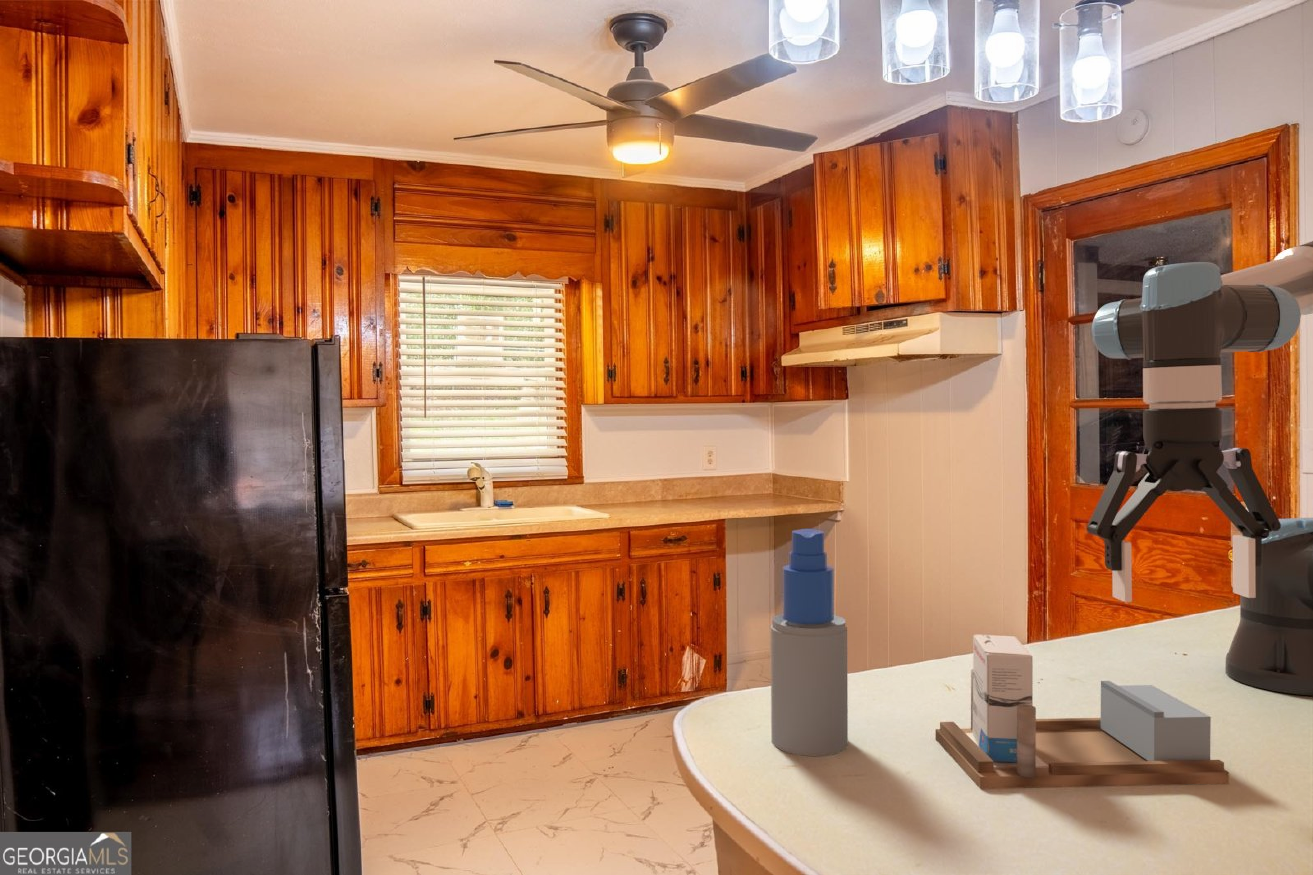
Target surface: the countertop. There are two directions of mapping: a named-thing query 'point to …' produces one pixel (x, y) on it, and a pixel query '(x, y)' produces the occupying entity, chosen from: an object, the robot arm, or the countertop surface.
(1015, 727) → the ink box
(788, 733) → the spray bottle
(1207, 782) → the tray
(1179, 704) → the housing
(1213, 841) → the countertop surface
